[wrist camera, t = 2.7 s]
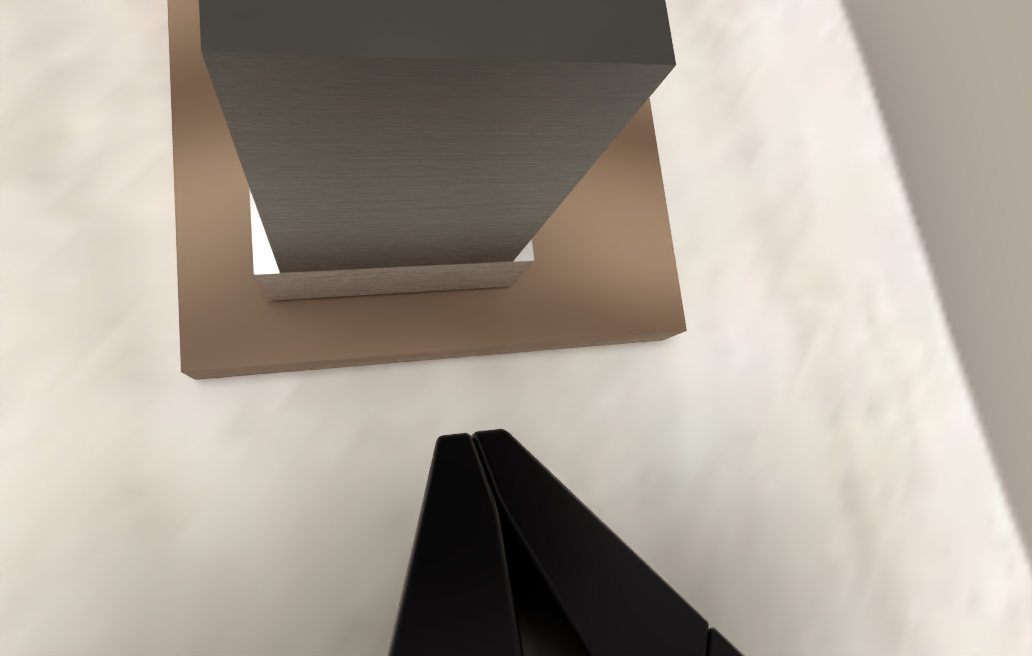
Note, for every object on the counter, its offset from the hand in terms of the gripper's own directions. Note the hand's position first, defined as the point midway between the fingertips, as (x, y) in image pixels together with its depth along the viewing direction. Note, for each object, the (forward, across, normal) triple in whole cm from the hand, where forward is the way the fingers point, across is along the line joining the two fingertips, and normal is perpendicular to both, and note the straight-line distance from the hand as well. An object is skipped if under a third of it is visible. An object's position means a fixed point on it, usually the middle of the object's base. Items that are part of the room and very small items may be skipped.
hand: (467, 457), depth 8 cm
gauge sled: (+11, -1, +1) cm, 11 cm away
